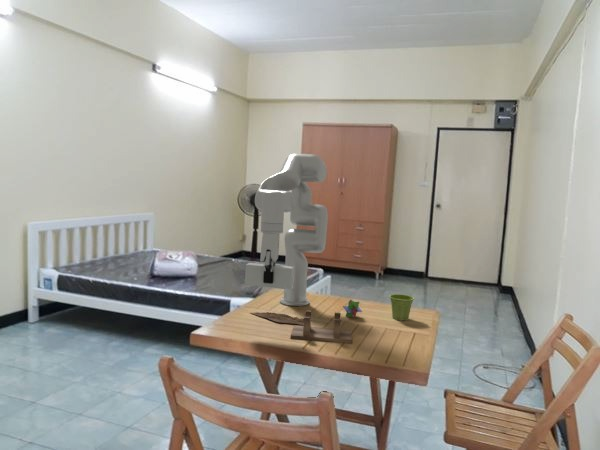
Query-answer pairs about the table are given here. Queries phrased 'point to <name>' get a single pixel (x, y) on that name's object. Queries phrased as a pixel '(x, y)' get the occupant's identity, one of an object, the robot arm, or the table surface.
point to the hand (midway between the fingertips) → (269, 281)
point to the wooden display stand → (321, 331)
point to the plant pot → (401, 306)
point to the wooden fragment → (281, 318)
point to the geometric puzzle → (352, 309)
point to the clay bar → (281, 276)
